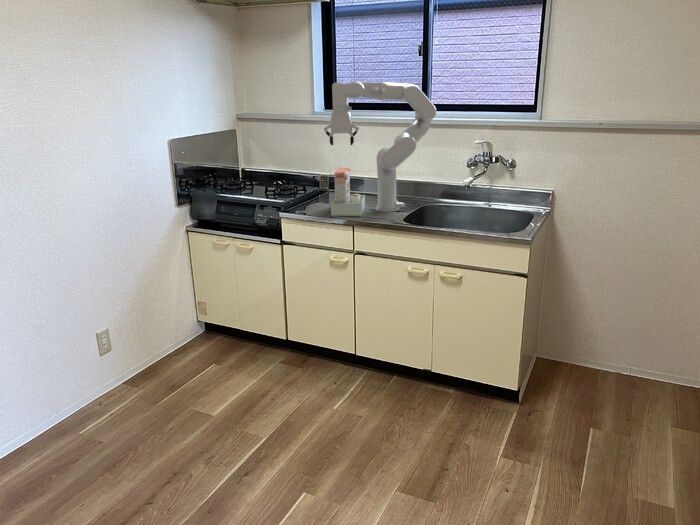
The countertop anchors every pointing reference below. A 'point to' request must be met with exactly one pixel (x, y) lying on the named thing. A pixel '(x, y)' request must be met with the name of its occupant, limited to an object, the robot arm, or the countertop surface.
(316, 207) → the countertop surface
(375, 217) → the countertop surface
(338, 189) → the cracker box
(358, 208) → the tote
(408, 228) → the countertop surface
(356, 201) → the jar
